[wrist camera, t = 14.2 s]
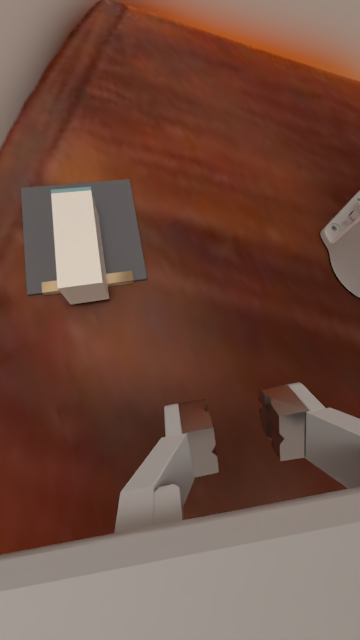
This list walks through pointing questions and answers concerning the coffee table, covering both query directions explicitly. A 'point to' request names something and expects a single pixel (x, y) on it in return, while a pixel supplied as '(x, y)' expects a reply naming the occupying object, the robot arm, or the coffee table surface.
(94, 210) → the cream block
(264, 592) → the robot arm
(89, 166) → the coffee table surface
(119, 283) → the oak stop strip
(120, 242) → the charcoal rubber mat
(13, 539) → the coffee table surface
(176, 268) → the coffee table surface
